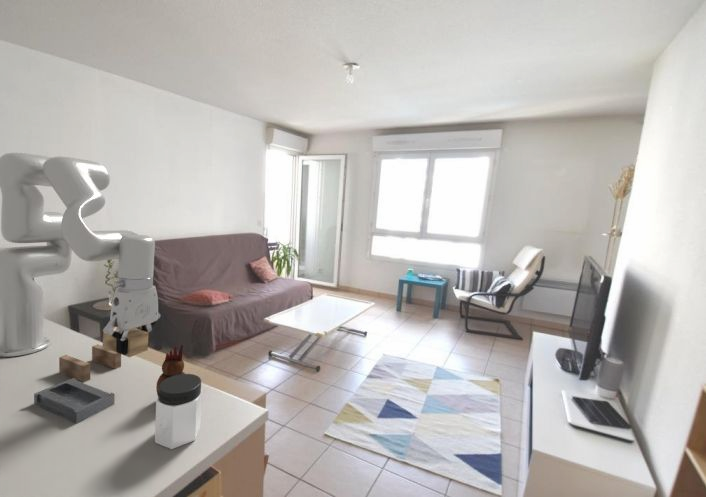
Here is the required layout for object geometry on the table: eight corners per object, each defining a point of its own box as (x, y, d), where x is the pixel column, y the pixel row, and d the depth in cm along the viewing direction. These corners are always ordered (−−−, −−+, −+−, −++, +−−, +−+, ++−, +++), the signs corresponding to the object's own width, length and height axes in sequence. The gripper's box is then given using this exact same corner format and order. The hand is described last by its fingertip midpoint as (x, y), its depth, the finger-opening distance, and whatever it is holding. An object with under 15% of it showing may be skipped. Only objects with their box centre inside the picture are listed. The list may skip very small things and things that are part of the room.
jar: (145, 440, 67) (147, 387, 66) (177, 418, 75) (179, 369, 73) (179, 454, 64) (181, 398, 63) (208, 429, 72) (211, 379, 71)
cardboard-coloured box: (102, 346, 85) (103, 329, 84) (121, 340, 89) (122, 323, 89) (129, 357, 82) (130, 338, 81) (147, 350, 86) (148, 332, 86)
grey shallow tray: (34, 404, 75) (34, 393, 74) (73, 387, 82) (73, 377, 82) (76, 423, 70) (76, 412, 69) (114, 404, 77) (114, 394, 77)
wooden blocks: (59, 372, 88) (59, 357, 87) (97, 358, 97) (97, 344, 97) (83, 382, 85) (83, 366, 84) (120, 366, 94) (121, 352, 93)
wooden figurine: (191, 396, 83) (193, 341, 81) (177, 410, 77) (179, 351, 76) (167, 392, 84) (169, 338, 82) (151, 405, 78) (152, 347, 76)
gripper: (111, 292, 73) (109, 366, 75) (175, 280, 89) (171, 341, 91) (89, 286, 75) (87, 358, 78) (155, 275, 92) (152, 335, 94)
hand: (132, 348), depth 85 cm, fingers closed on cardboard-coloured box, 5 cm apart
